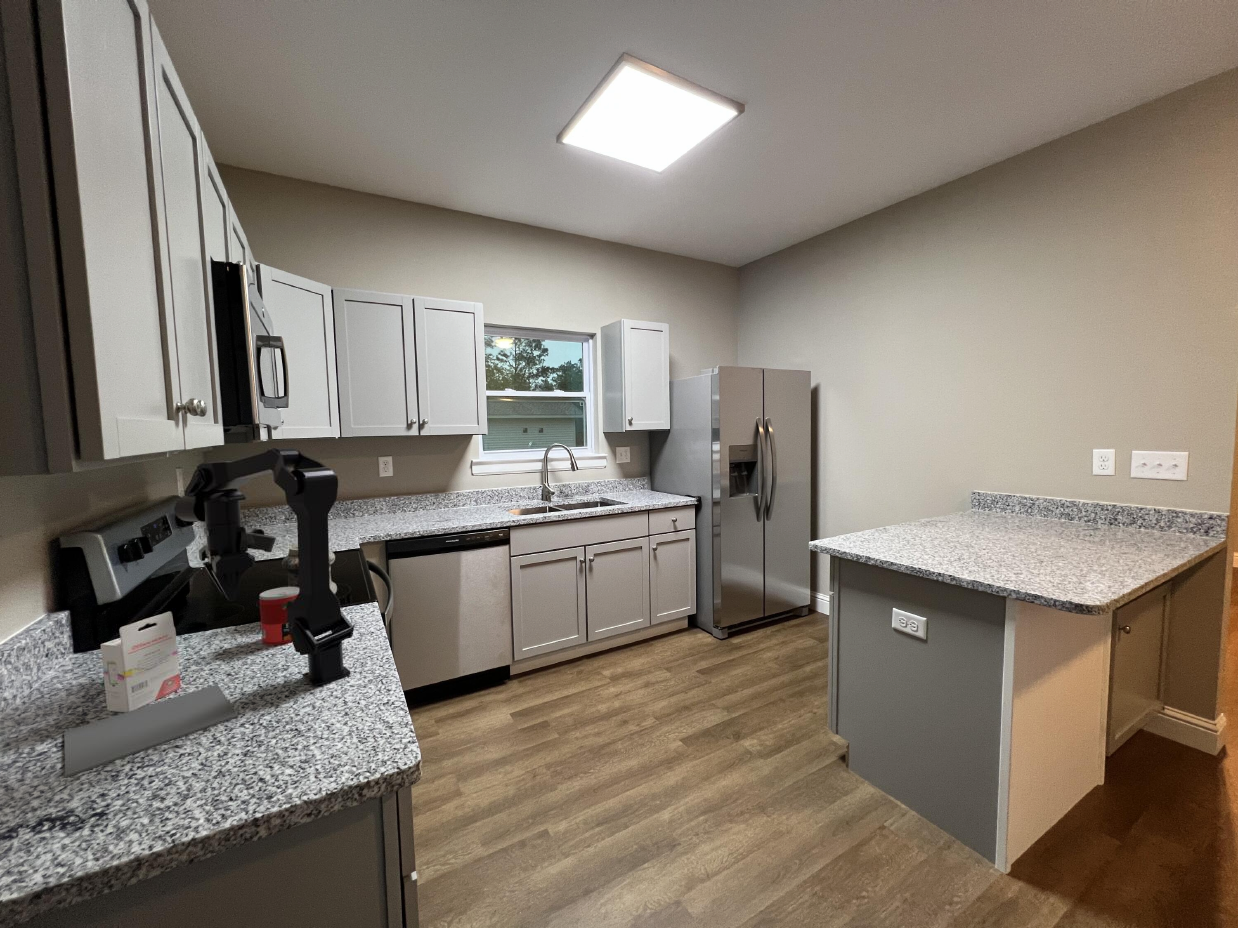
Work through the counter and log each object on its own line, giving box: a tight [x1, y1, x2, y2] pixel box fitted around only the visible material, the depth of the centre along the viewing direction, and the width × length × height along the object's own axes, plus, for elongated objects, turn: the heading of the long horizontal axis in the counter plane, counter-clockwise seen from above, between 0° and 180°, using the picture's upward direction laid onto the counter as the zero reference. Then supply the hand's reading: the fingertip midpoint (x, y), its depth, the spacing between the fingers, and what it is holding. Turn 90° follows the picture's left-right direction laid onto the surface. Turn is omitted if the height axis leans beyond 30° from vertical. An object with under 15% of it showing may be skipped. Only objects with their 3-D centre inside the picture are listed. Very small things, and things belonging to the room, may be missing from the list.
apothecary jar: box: [281, 543, 338, 595], centre depth 130 cm, size 12×12×18 cm
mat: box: [64, 684, 239, 778], centre depth 80 cm, size 16×19×1 cm
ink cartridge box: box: [100, 611, 182, 713], centre depth 88 cm, size 9×5×15 cm, turn 168°
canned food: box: [258, 586, 299, 646], centre depth 114 cm, size 8×8×11 cm
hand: (229, 597), depth 103 cm, fingers open, 6 cm apart
